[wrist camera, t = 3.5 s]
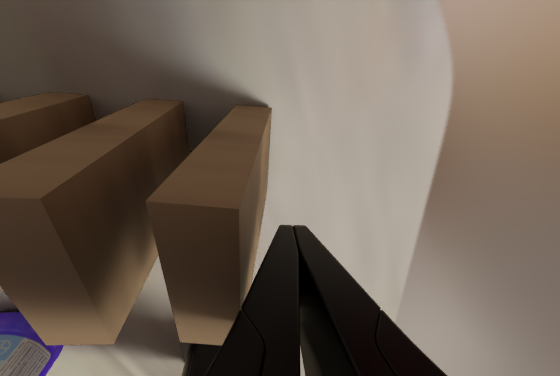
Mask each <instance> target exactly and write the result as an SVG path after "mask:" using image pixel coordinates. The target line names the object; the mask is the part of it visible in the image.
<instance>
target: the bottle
mask: <svg viewBox="0 0 560 376" xmlns="http://www.w3.org/2000/svg"><path fill="white" fill-rule="evenodd" d="M62 348H63V345H45V343H44V342H43V341H42V339H41V338H40V337H39V336H38V334H37V333H36V332H35V330H34V329H33V328H32V326H31V325H30V324H29V323H28V321H27V320H26V319H25V317H24V316H23V315H22V314H21V312H5V313H0V376H46V374H47V373H48V371H49V370H50V368H51V367H52V365H53V363H54V361H55V360H56V359H57V358H58V356H59V354H60V352H61V351H62Z"/></svg>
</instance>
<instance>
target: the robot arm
mask: <svg viewBox="0 0 560 376" xmlns="http://www.w3.org/2000/svg"><path fill="white" fill-rule="evenodd" d="M179 341H180V340H179ZM180 345H181V349H182V353H183V357H184V361H185V365H184V369H183V373H182V376H300V346H301V352H302V358H303V364H304V370H305V376H447V375H446V374H445V373H444V372H443V371H442V370H441V369H440V368H438V366H437V365H436V364H435V363H433V362H432V361H431V360H430V359H429V358H428V357H427V356H426V355H425V354H424V353H423V352H422V351H421V350H420V349H419V348H418V347H417V346H416V345H415V344H414V343H413V342H412V341H411V340H410V339H409V338H408V337H407V336H406V335H405V334H404V333H403V332H402V330H401V329H400V328H399V327H398V326H397V325H396V324H395V323H394V322H393V321H392V320H391V319H390V318H389V316H388V315H387V314H386V313H385V312H384V311H383V310H380V307H379V306H378V305H377V303H376V302H375V301H374V300H373V299H372V298H371V297H370V296H369V295H368V294H367V292H366V291H365V290H364V289H363V288H362V287H361V286H360V285H359V284H358V283H357V282H356V280H355V279H354V278H353V277H352V276H351V275H350V274H349V273H348V272H347V271H346V269H345V268H344V267H343V266H342V265H341V264H340V263H339V262H338V261H337V260H336V258H335V257H334V256H333V255H332V254H331V253H330V252H329V251H328V250H327V249H326V247H325V246H324V245H323V244H322V243H321V242H320V241H319V240H318V239H317V238H316V236H315V235H314V234H313V233H312V232H311V231H310V230H309V229H308V228H307V227H306V226H304V225H294V226H293V227H292V226H291V225H280V226H279V228H278V230H277V232H276V234H275V236H274V238H273V240H272V242H271V245H270V247H269V249H268V251H267V253H266V255H265V257H264V259H263V262H262V264H261V266H260V268H259V270H258V272H257V274H256V276H255V279H254V281H253V283H252V285H251V287H250V289H249V291H248V293H247V296H246V298H245V300H244V302H243V304H242V306H241V310H240V311H239V312H238V314H237V316H236V319H235V321H234V323H233V325H232V327H231V329H230V331H229V333H228V335H227V337H226V339H225V340H224V342H223V344H222V346H221V345H209V344H197V343H185V342H180Z"/></svg>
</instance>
